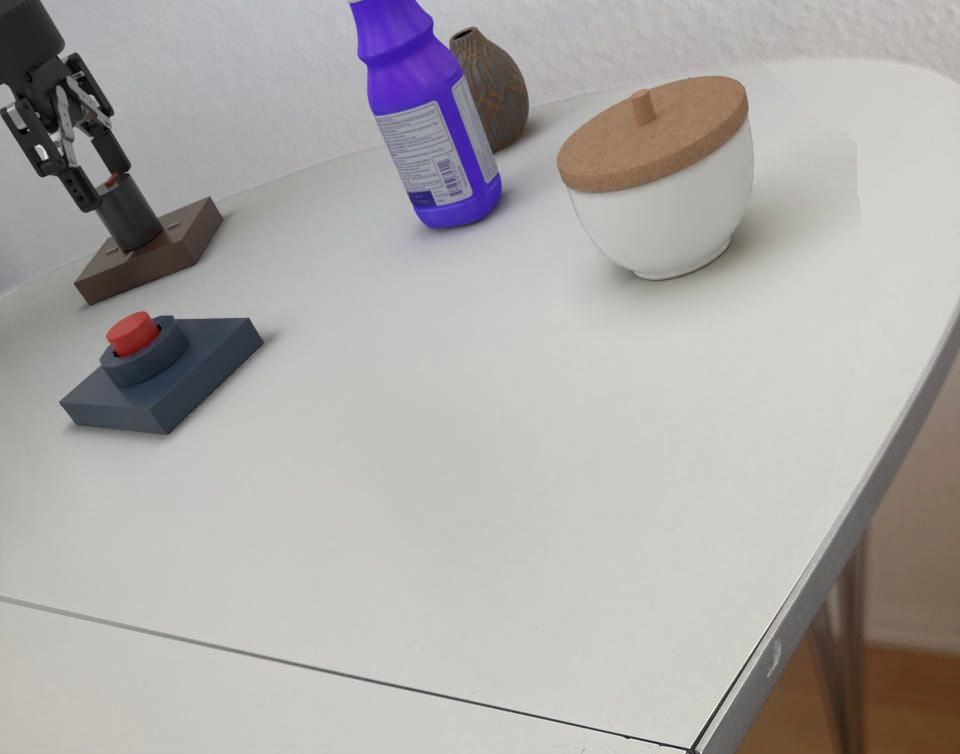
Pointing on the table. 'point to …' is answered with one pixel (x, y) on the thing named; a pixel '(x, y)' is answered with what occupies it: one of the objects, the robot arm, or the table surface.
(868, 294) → the table surface
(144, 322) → the button
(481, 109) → the vase
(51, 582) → the table surface
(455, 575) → the table surface
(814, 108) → the table surface
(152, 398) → the button box
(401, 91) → the bottle
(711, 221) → the trinket box
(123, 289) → the panel
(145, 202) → the dial knob
